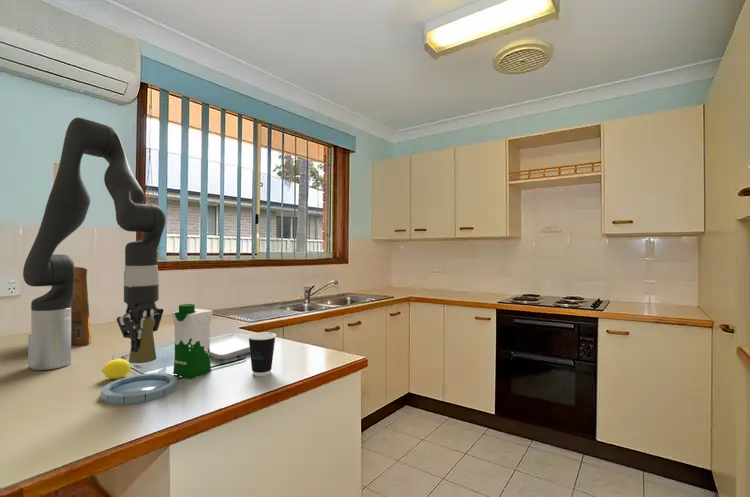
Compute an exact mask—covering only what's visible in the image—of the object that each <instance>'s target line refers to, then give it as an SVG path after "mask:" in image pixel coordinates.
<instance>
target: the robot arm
mask: <svg viewBox="0 0 750 497" xmlns="http://www.w3.org/2000/svg"><path fill="white" fill-rule="evenodd" d="M84 155H86V156H87V155H88V156H93V157H97V158H103V159H105V161H106V162H107V163H108V167H107V168H106V170H105V173H104V177H103V180H104V184H105V188H106V189H107V191H108V193H109V195H110V197H111V198H112V200H113V205H114V210H115V219H116V220H115V221H116V223H117V225H118V227H120V228H121V229H122V230H124V231H126V232H133V233H134V232H138V233H141V232H142V233H143V235H142V237H141V238H140V239H138V240H136V241H135V240H134V241H131V242H130V241H129V242H128V243H126V244H125V248H124V252H125V253H124V272H123V302H124V303H125V304H126V305H127V306H126V309H125V314H123V315H122V316H117V318H116V323H117V324H118V327H119V329H120V332H121V334H122V337H123V338H125V339H130V350H131V352H138V346H139V350H140V343H141V339H140V338H141V336H142V329H143V325H142V324H143V322H144V320H145V318H146V317H153V318H154V319H155V326H154V327H153V329H152V330H153V333H154V332H158V330H159V328H160V323H161V321H162V318H163V313H164V309H163V308H158V307H157V305H156V302H158V301H159V297H160V296H159V294H160V293H159V289H160V288H159V287H160V286H159V281H160V279H159V276H160V275H159V268H158V255H159V253H158V252H159V251H158V250H159V246H160V242H161V239H162V235H163V234H164V233H163V232H164V230H165V225H166V221H167V220H166V215H165V212H164V209H163V208H161V207H160V206H158V205H155V204H149V203H148V204H147V203H144V201H145V197H146V196H145V191H143V188H142V187H141V186H140V184H139V182H138V181H137V179H136V177H135V176H134V174H133V172H132V170H131V167H130V164H129V162H128V158H127V156H126V152H125V148H124V147H123V144H122V141H121V138H120V136H119V134H118V132H117V131H116V130H115V129H114V128H113V127H111V126H109V125H107V124H103V123H100V122H96V121H93V120H90V119H86V118H82V117H75V118H73V119H72V120H70V122H69V124H68V126H67V129H66V131H65V134H64V141H63V144H62V150H61V154H60V160H59V164H58V168H57V172H56V176H55V178H54V181H53V182H54V183H53V185H52V188H51V190H50V194H49V196H48V199H47V203H46V204H45V209H44V212H43V213H44V214H43V216H42V220H41V223H40V226H39V228H38V232H37V235H36V237H35V239H34V242H33V244H32V246H31V248H30V250H29V253H28V254H27V257H26V259H25V262H24V266H23V269H22V270H23V271H22V276H23V281H24V283H25V284H26V285H27V286H30V287H35V288H36V287H47V286H48V287H50V286H51V288H50V289H49V291H48V292H46V293H45V294H43V295H40V296H39V297H37V298H33V300H32V301H31V303H30V309H31V310H30V318H31V319H30V320H31V321H30V323H31V325H30V330H31V331H30V334H28V337H27V346H28V347H27V349H28V350H27V355H28V356H27V360H28V361H27V368H29V369H31V370H34V371H47V370H53V369H59V368H63V367H66V366H68V365H70V364H71V363H72V343H71V302H72V299H73V292H74V277H75V267H76V266H75V263H74V261H73V259H72V257H71V256H69V255H67V254H54V253H55V251H56V248H58V246H59V245H60V244H61V243H62V242H64V240H66V239H67V238H68V237H69V236H71V235H72V234H73V233H75V231H76V230H78V228H80V227H81V226H82V225H83V223H84V221H85V219H86V217H87V214H88V211H89V208H90V205H91V196H90V192H89V190H88V187H87V184H85V181H84V179H83V175H82V172H81V163H82V158H83V156H84ZM132 323H133V324H139V326H133V325H132ZM134 329H137V334H136V333H135V330H134Z"/></svg>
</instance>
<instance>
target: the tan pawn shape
mask: <svg viewBox="0 0 750 497" xmlns="http://www.w3.org/2000/svg"><path fill="white" fill-rule="evenodd" d="M132 325H133V326H139V324H133V323H132ZM142 325H143V329H142V336H141V338H140V339H141V343H140V350H139V346H138V352H131V349H130V350H129V358H128V363H129V364H145V363H150V362H153V361H156V360H157V354H156V346H155V338H154V332H153V330H152V329H153V327H154V326H155V319H154V318H153V317H146V318H145V320H144V322H143V324H142ZM134 330H135V333H136V334H137V329H134Z"/></svg>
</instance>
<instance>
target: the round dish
mask: <svg viewBox="0 0 750 497" xmlns="http://www.w3.org/2000/svg"><path fill="white" fill-rule="evenodd" d="M177 386H178V376H173V374H171V373H164V372H163V373H162V372H151V373H150V372H149V373H141V374H134V375H131V376H130V375H129V376H124V377H122V378H120V379H115V380H114V381H111V382H109V383H106V384H105V385H104V386H103V387H102V389H101V390H100V400H102V401H103V402H105V403H106V404H112V405H133V404H139V403H146V402H150V401H152V400H153V401H154V400H157V399H160V398H164V397H166V396H168V395H169V394H171V393H172V392H174V391H176V389H177V388H178V387H177Z"/></svg>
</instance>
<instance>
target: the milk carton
mask: <svg viewBox="0 0 750 497" xmlns="http://www.w3.org/2000/svg"><path fill="white" fill-rule="evenodd" d="M195 306H196V305H195V304H193V303H184V304H180V305H178V310H177V311H172V312H171V315H172V320H173V325H174V359H173V360H174V362H173V373H172V375H173V374H177V375H181V376H182V377H183V378H182V377H181V378H182V379H186V380H187V379H188V380H193V379H195V378H199V377H201V376H204V375H207V374H209V373H212V367H211V357H210V338H211V322H212V318H213V313H214V310H210V309H204V308H203V309H202V308H196V307H195Z"/></svg>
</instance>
